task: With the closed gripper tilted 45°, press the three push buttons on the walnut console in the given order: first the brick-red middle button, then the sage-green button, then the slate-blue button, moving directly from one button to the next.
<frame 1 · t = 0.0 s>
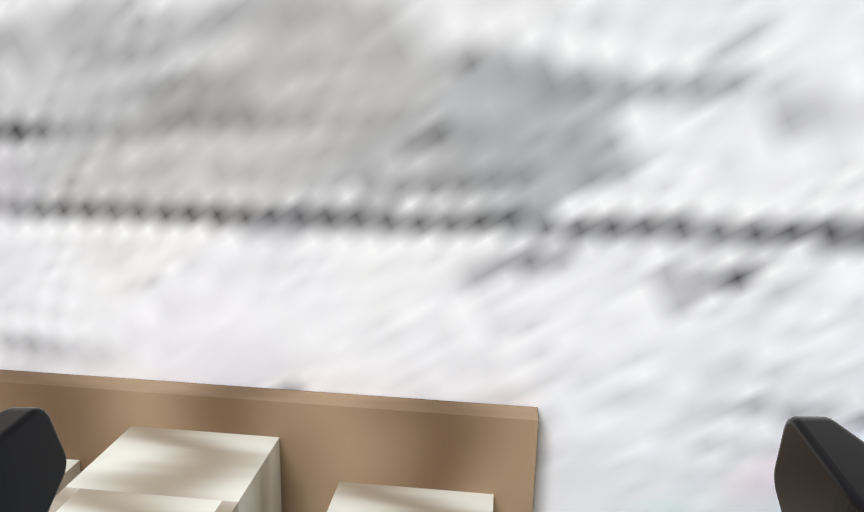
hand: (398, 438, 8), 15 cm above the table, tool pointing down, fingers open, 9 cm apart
button console: (220, 502, 27), on the table
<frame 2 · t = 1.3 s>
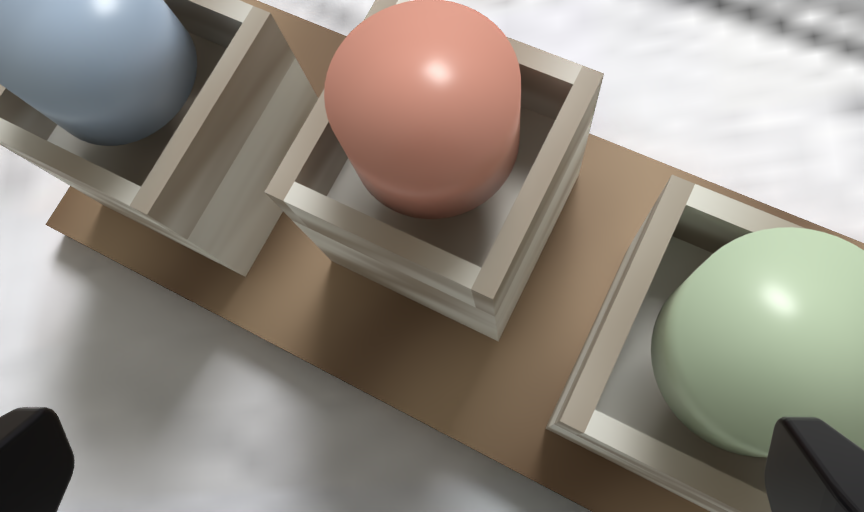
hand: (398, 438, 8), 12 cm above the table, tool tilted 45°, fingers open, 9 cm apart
button console: (445, 250, 22), on the table
green button: (772, 348, 12), point 8 cm above the table, slide at 0.0 cm
blue button: (94, 47, 16), point 8 cm above the table, slide at 0.0 cm
red button: (428, 114, 14), point 8 cm above the table, slide at 0.0 cm
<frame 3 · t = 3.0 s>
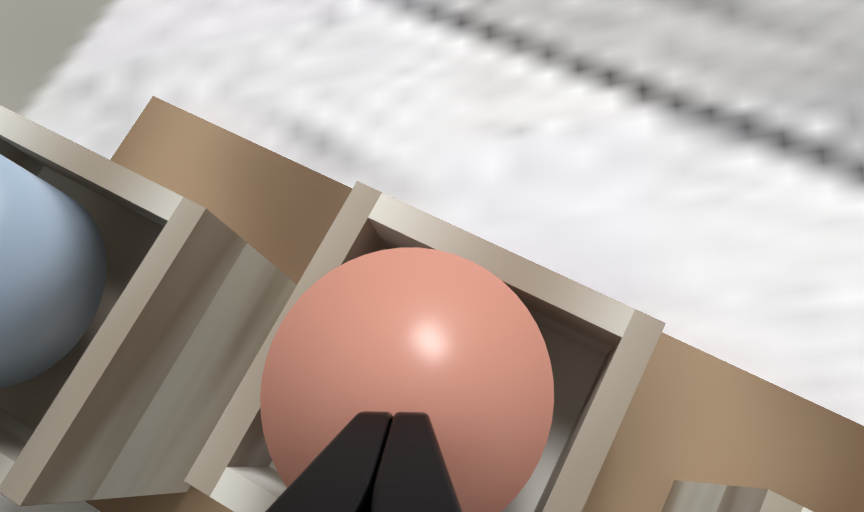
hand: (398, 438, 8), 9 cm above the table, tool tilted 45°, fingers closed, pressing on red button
button console: (442, 455, 17), on the table
red button: (416, 397, 10), point 8 cm above the table, slide at 0.1 cm, touching gripper
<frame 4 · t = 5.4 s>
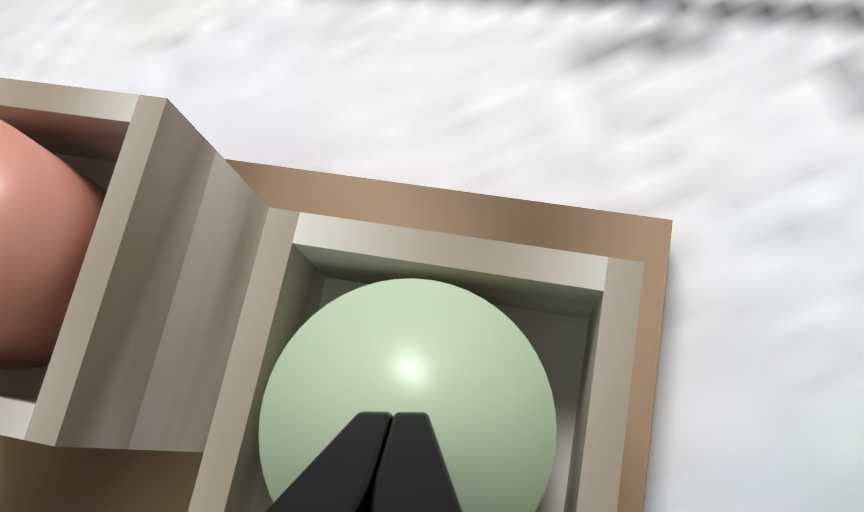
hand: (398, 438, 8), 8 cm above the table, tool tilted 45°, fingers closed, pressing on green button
button console: (155, 351, 18), on the table
green button: (416, 428, 10), point 6 cm above the table, slide at 1.4 cm, touching gripper
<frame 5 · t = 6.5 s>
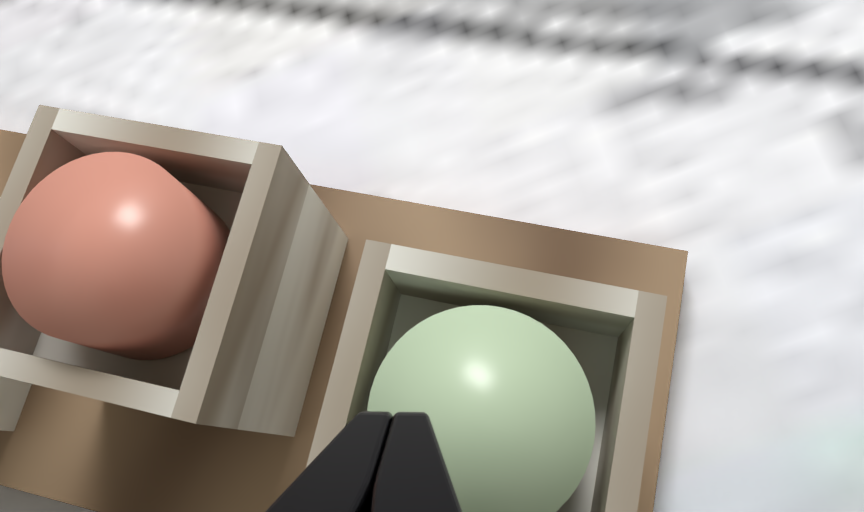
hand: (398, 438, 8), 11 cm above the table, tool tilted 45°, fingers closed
button console: (233, 347, 20), on the table
green button: (481, 421, 13), point 6 cm above the table, slide at 1.6 cm
red button: (128, 260, 14), point 6 cm above the table, slide at 1.6 cm
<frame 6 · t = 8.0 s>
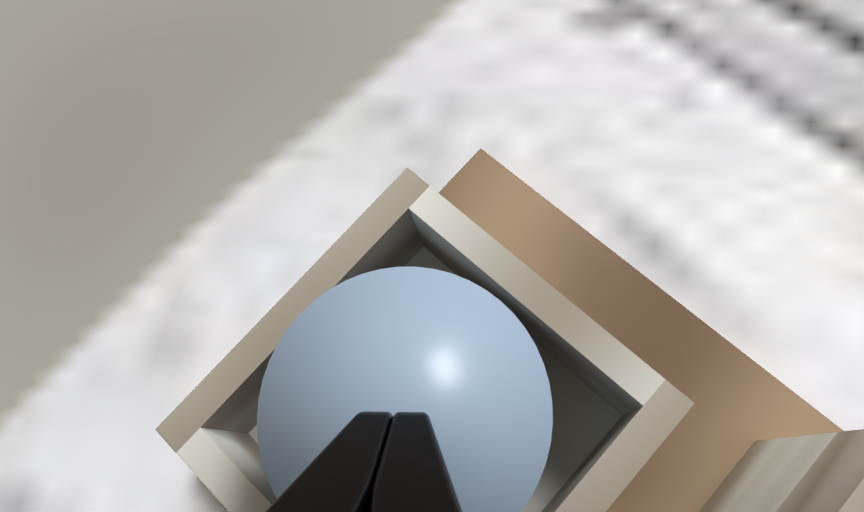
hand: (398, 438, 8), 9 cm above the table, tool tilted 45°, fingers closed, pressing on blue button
blue button: (414, 416, 10), point 7 cm above the table, slide at 0.8 cm, touching gripper
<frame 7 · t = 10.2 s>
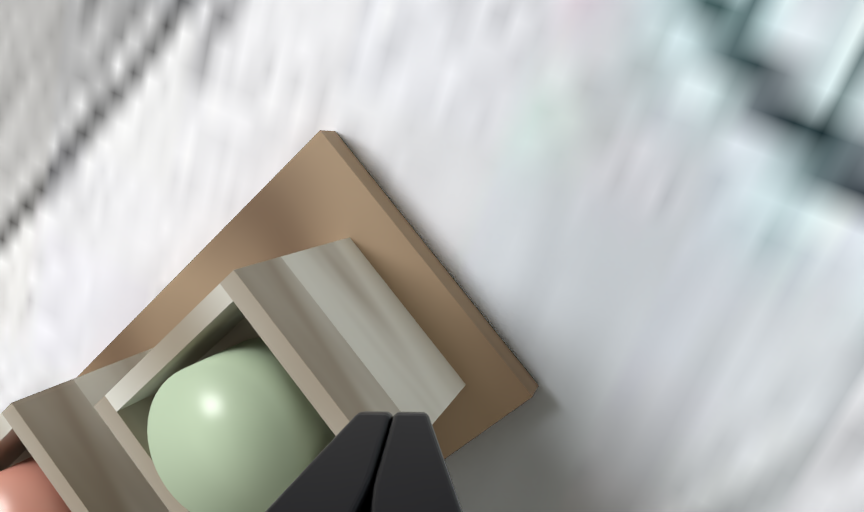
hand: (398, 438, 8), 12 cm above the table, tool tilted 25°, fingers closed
button console: (198, 457, 25), on the table
green button: (247, 426, 17), point 6 cm above the table, slide at 1.6 cm
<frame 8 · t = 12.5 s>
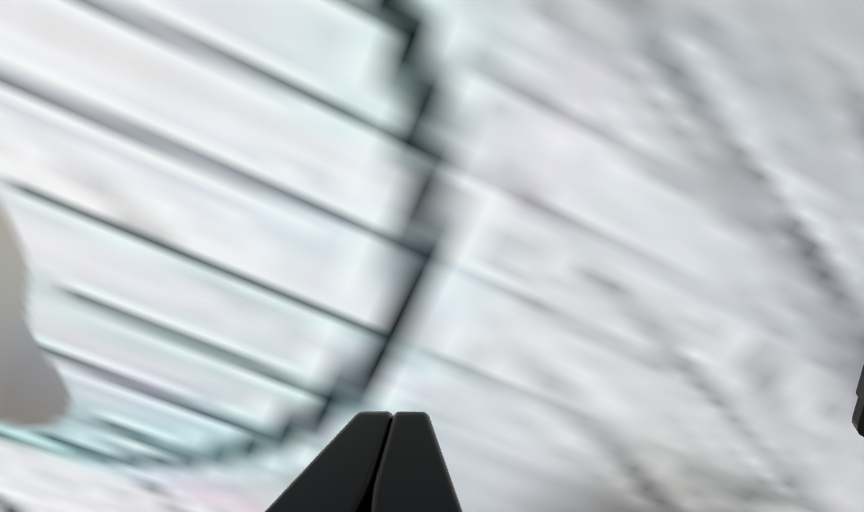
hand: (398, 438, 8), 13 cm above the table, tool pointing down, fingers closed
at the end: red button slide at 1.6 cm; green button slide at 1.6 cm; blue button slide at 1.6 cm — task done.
